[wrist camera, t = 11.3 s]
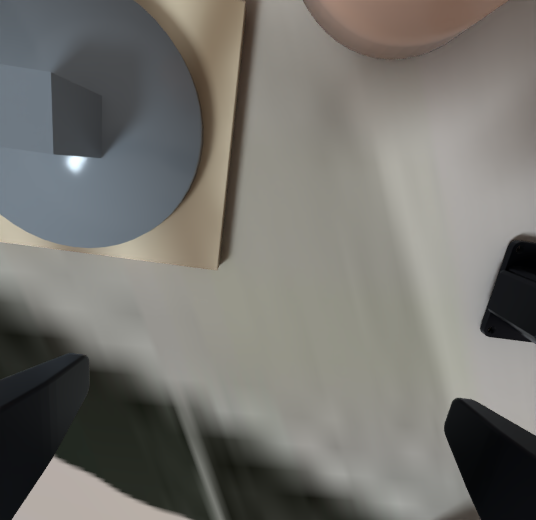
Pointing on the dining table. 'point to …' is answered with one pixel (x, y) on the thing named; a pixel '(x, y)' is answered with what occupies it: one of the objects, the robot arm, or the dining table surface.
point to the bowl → (397, 23)
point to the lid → (93, 121)
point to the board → (214, 137)
